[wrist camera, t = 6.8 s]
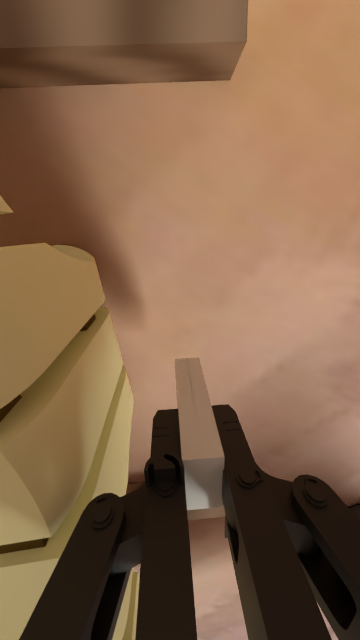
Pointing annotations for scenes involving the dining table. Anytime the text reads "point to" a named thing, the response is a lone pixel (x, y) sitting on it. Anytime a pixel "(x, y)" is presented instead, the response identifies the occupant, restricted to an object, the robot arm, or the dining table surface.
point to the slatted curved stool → (55, 419)
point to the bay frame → (121, 52)
